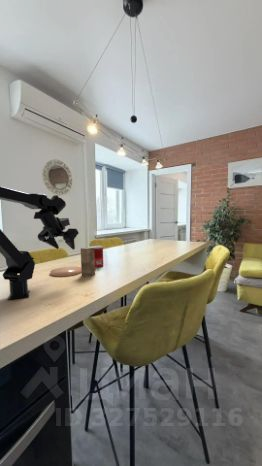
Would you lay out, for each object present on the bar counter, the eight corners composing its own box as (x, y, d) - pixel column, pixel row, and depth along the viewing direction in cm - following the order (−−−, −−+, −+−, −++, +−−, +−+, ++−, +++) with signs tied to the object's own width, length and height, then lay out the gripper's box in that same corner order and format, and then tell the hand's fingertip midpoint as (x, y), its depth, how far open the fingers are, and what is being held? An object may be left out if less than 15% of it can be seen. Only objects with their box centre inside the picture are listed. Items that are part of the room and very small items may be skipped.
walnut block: (88, 276, 103) (87, 249, 102) (81, 275, 105) (80, 248, 104) (95, 274, 106) (94, 247, 105) (88, 273, 109) (87, 247, 108)
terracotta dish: (85, 274, 107) (85, 271, 107) (50, 278, 102) (50, 275, 101) (80, 267, 122) (80, 265, 122) (50, 270, 116) (49, 268, 116)
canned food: (105, 264, 128) (104, 245, 127) (100, 267, 121) (99, 247, 120) (93, 264, 130) (92, 245, 129) (87, 267, 123) (86, 247, 122)
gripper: (77, 209, 94) (90, 237, 103) (44, 211, 101) (59, 236, 111) (63, 225, 86) (79, 254, 95) (29, 226, 94) (46, 252, 103)
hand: (65, 248), depth 101 cm, fingers open, 9 cm apart
